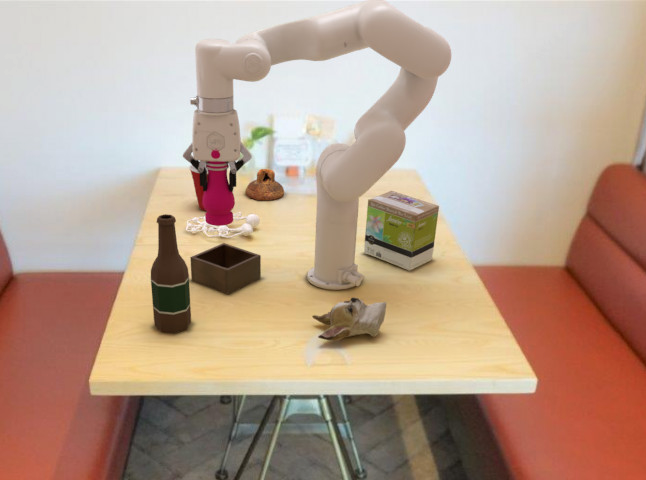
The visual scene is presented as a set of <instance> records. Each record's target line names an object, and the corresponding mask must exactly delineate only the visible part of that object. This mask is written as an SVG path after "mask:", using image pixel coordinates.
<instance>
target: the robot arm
mask: <svg viewBox="0 0 646 480" xmlns="http://www.w3.org/2000/svg"><path fill="white" fill-rule="evenodd" d="M194 49H195V51H194V53H195V56H194V57H195V73H196V74H195V75H196V77H195V78H196V96H194V97H190V101H189V102H190V105H193V106H195V107H196V109H195V110H194V112H193V117H192V134H191V135H192V139H191V140H192V142H191V143H190V144H189V145H188V147H187V148H186V149H185V151H184V152H183V154H182V157H183V159H184V160H186V161H187V162H188V163H190V164H191V165H193V166H194V167H195V168H196V169H197V170H198V172H199V175H200V186H203V191H206V187H207V170H206V168H205V163H206V161H220V162H228V165H229V173H228V183H229V191H230V192H234V188H236V187H237V173H238V171H239V170H240V169H241V168H243V166H244V165H246V164H247V163H248V162H249V161H250V160H251V159H252V158H253V157H252V156H253V155H252V154H251V153H252V152H250V151H249V150H248V148H247V147H246V146H245V145H244V144H243V142H242V141H241V139H242V138H241V129H240V120H239V115H238V111H237V110H236V109H235V105H234V103H235V102H234V100H235V98H234V80H237V81H243V82H250V83H254V82H259V81H261V80H263V79H265V78H266V77H267V76H268V75H269V73H270V71H271V69H272V66H276V65H279V64H282V63H286V62H292V61H300V60H301V61H302V60H303V61H311V62H324V61H328V60H331V59H334V58H335V59H336V58H337V57H338V58H339V57H340V56H344V55H347V54H352V53H353V52H358V51H361V50H365V49H371V50H372V51H374V52H376V53H377V54H379V55H380V56H382V57H383V58H385V59H386V60H388V61H390V62H391V63H394V64H395V65H396V66H399V67H400V71H399V73H398V75H397V77H396V79H395V81H394V82H393V83H391V85H390V87H388V89H386V91H385V92H384V93H383V94H382V96H380V98H378V99H377V100H376V101H375V103H373V105H371V107H370V108H369V109H367V110H366V111H365V113H364V114H362V115H361V116H360V117H359V119H358V120H357V121H356V123H355V126H354V130H353V133H354V139H355V141H354V142H353V143H352V144H351V145H348V144H345V143H342V142H336V143H332V144H330V145H328V146H326V147H325V148H324V149H323V150H322V151H321V153H320V154H319V156H318V159H317V163H316V170H315V171H316V173H315V174H316V213H315V215H316V216H315V235H314V236H315V237H314V238H315V239H314V265H313V267H311V268H310V269H309V270H308V271H307V275H306V277H307V281H308V282H309V284H311V285H313V286H315V287H317V288H321V289H325V290H334V291H336V290H337V291H338V290H340V291H341V290H347V289H350V288H354V287H355V286H356V287H359V286H360V285H361V284H362V281H363V280H364V279H365V275H364V274H362V273H360V272H359V271H358V268H359V267H358V264H357V263H355V261H356V247H357V233H358V220H359V219H358V218H359V206H360V205H359V201H360V198H361V197H363V195H364V194H366V193H367V192H368V191H369V190H370V189H371V188H372V187H373V186H374V185H375V184H377V182H378V181H380V179H382V177H383V176H384V175H385V174H386V173H387V172H389V171H390V169H391V168H393V167H394V166H395V165H396V163H397V162H398V161H399V160H400V158H401V157H402V155H403V153H404V151H405V149H406V148H405V147H406V144H407V137H406V133H405V132H406V130H407V129H408V128H409V126H410V125H412V124H413V122H415V120H416V119H417V118H418V117H419V116H420V115H421V114H422V113H423V112H424V110H425V109H426V108H427V106H428V105H429V104H430V102H431V100H432V99H433V96H434V93H435V91H436V89H437V85H438V79H439V77H440V76H442V75H443V74H444V73H446V71H447V70H448V68H449V66H450V65H451V61H452V49H451V46H450V44H449V42H448V41H447V40H446V38H445V37H444V36H442V35H441V34H439V33H438V32H437V31H435V30H434V29H432V28H430V27H428V26H424V25H423V24H421V23H420V22H418V21H416V20H415V19H413V18H411V17H410V16H408V15H407V14H405V13H404V12H402V10H399V9H398V8H396V7H395V6H393V5H392V4H391V3H389V2H388V1H386V0H364V1H360V2H356V3H354V4H350V5H347V6H344V7H341V8H338V9H335V10H331V11H327V12H324V13H320V14H317V15H313V16H310V17H309V16H308V17H305V18H301V19H297V20H293V21H289V22H283V23H280V24H279V23H278V24H275V25H271V26H268V27H265V28H262V29H259V30H255V31H252V32H249V33H246V34H244V35H242V36H240V37H239V38H238V39H237V40H236V41H235V43H231V42H229V41H228V40H226V39H221V38H204V39H201V40H199V41H198V42H197V43H196V44H195V48H194ZM212 149H213V150H215V149H217V150H219V153H220V157H219V158H218V159H214V158H212V156H211V152H212V151H213V150H212ZM241 154H242V157H241ZM240 157H241V158H240Z"/></svg>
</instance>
